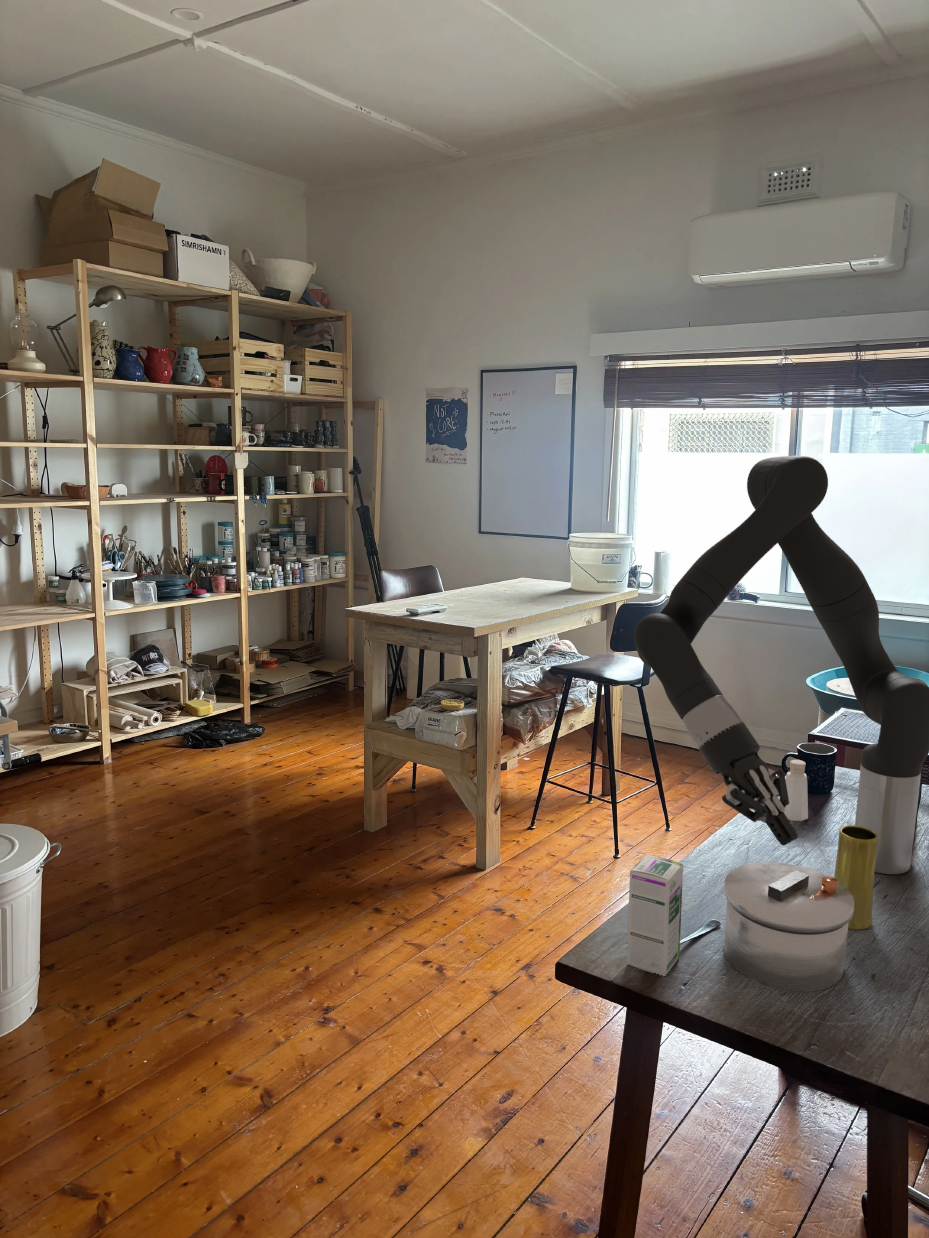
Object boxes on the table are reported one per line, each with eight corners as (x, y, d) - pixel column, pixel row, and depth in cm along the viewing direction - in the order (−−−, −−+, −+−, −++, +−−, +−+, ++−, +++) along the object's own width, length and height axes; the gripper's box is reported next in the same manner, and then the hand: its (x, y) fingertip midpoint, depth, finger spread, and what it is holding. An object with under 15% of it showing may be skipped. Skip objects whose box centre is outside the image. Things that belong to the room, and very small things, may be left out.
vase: (875, 932, 134) (885, 843, 132) (832, 927, 136) (840, 839, 133) (866, 911, 140) (875, 825, 137) (824, 907, 142) (832, 821, 139)
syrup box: (665, 978, 123) (671, 879, 120) (624, 964, 126) (629, 868, 123) (679, 957, 128) (685, 862, 125) (640, 945, 131) (644, 852, 128)
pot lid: (767, 858, 138) (768, 841, 137) (876, 903, 125) (878, 884, 125) (699, 894, 127) (700, 875, 127) (811, 947, 115) (813, 926, 114)
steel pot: (763, 914, 139) (768, 861, 137) (865, 961, 127) (872, 903, 125) (700, 952, 129) (704, 895, 127) (804, 1007, 117) (810, 944, 115)
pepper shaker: (804, 823, 171) (809, 768, 169) (775, 817, 174) (779, 762, 172) (811, 813, 176) (816, 760, 174) (782, 807, 179) (787, 754, 176)
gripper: (709, 730, 125) (783, 844, 118) (762, 711, 133) (835, 817, 126) (675, 756, 130) (745, 867, 123) (729, 737, 138) (797, 839, 131)
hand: (790, 841), depth 125 cm, fingers closed
